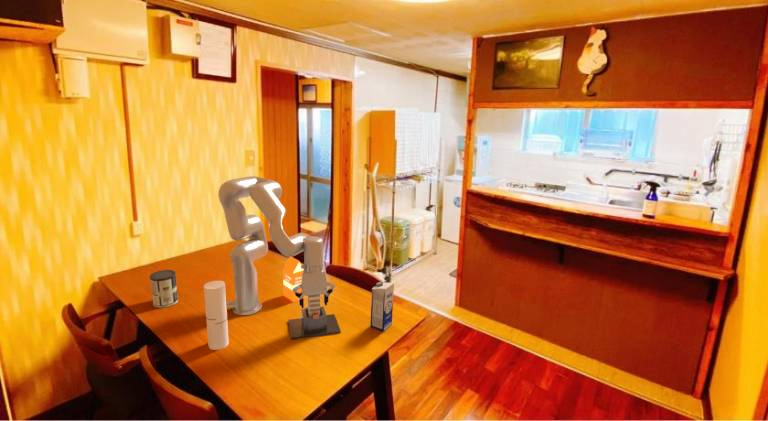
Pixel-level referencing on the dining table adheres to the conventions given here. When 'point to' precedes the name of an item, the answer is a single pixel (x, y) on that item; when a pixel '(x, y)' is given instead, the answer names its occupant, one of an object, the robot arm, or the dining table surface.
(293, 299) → the orange juice
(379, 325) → the milk carton
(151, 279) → the coffee can
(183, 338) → the dining table surface
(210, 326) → the cylindrical container
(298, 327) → the stand base
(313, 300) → the column
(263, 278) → the dining table surface
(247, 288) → the robot arm
